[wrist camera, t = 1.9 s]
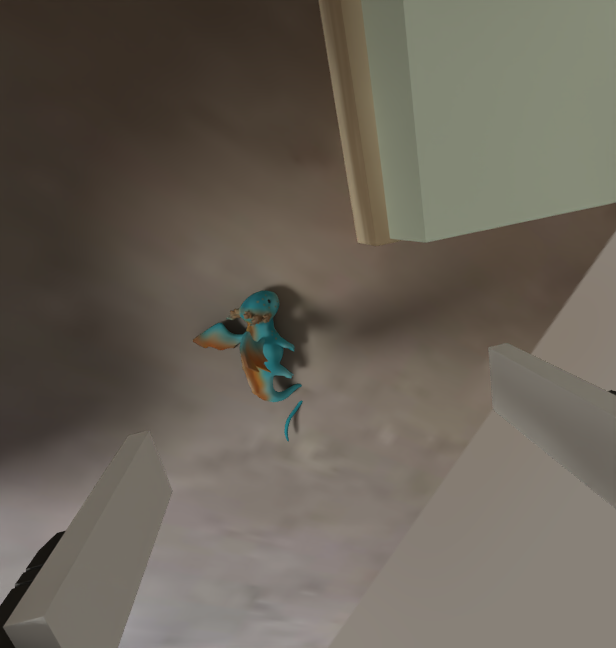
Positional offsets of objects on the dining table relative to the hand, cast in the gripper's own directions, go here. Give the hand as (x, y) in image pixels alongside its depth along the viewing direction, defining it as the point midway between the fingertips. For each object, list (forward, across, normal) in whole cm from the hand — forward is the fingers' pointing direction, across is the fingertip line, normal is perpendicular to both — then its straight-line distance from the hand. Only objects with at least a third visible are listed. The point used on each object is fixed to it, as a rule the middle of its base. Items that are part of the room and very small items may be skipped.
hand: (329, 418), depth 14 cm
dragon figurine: (+10, -3, 0) cm, 10 cm away
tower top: (+6, +11, +11) cm, 16 cm away
